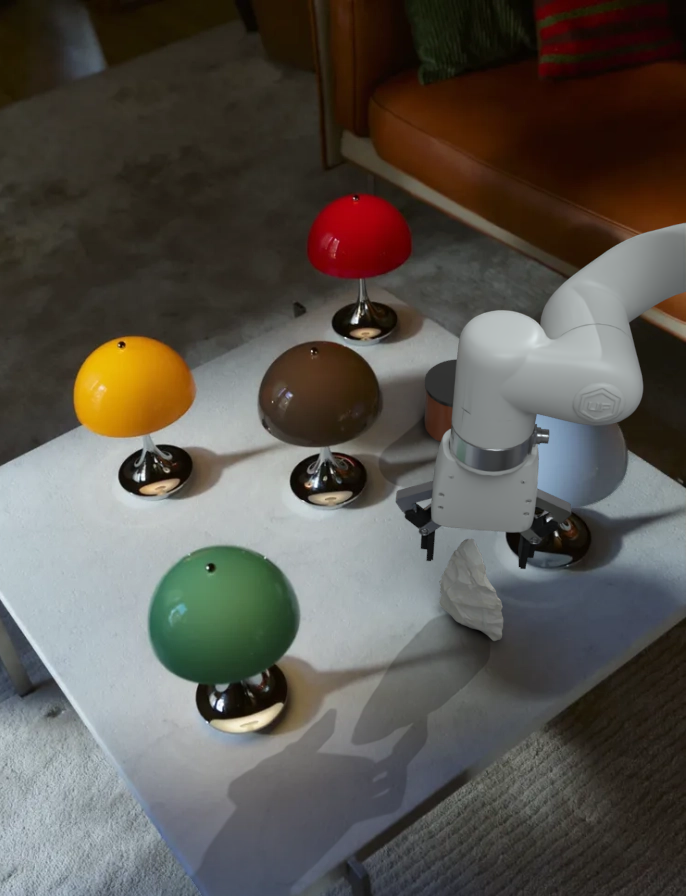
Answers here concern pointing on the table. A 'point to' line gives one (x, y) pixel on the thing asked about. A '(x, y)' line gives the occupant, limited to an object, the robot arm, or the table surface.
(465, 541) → the stone tool
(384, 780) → the table surface
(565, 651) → the table surface
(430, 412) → the canister
